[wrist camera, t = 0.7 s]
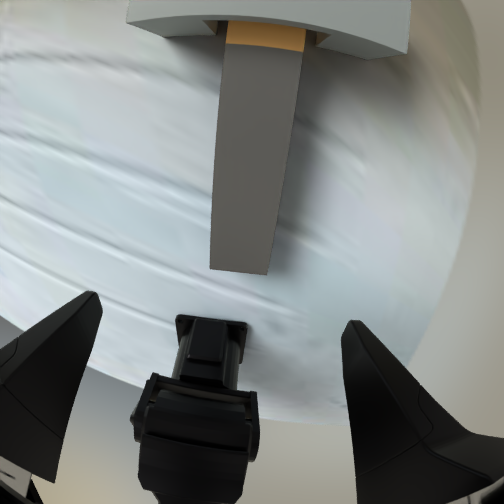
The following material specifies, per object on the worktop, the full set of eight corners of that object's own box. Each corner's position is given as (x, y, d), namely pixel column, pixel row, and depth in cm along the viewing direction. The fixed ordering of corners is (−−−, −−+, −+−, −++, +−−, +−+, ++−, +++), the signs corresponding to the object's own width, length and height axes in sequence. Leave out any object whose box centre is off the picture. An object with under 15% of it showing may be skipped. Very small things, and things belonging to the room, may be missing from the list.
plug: (266, 248, 20) (267, 275, 17) (216, 243, 20) (209, 268, 17) (301, 15, 11) (309, 0, 8) (237, 7, 11) (232, -8, 8)
